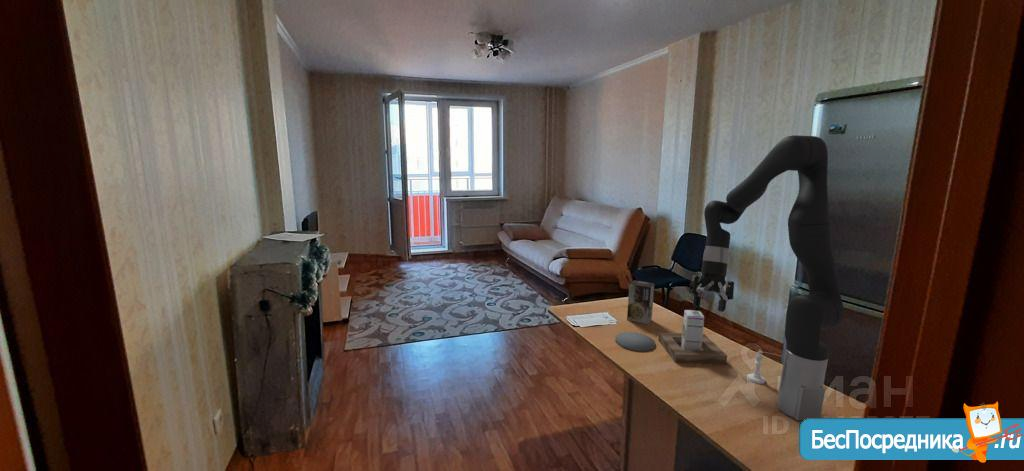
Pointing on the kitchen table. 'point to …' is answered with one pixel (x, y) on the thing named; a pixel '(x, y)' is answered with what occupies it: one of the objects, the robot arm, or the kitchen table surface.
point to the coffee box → (640, 301)
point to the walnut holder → (706, 355)
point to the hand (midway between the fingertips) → (708, 309)
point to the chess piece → (757, 370)
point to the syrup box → (692, 330)
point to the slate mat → (635, 341)
